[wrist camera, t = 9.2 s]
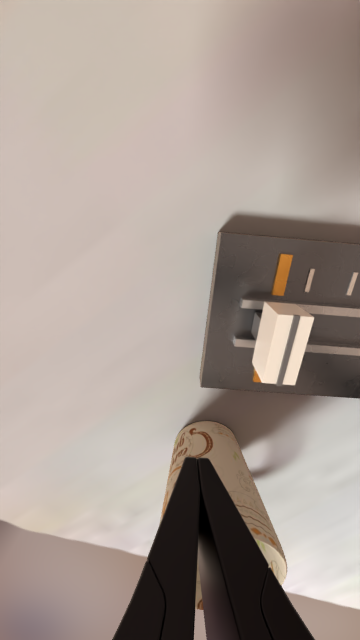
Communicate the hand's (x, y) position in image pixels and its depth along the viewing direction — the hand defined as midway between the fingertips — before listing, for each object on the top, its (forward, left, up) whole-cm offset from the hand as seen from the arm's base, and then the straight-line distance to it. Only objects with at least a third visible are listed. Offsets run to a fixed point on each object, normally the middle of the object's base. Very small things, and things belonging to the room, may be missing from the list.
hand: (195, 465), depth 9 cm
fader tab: (-6, -2, -11) cm, 12 cm away
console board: (-11, -1, -12) cm, 17 cm away
